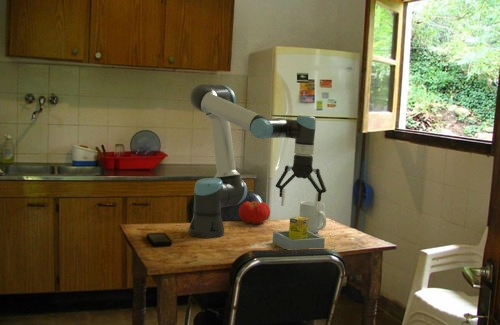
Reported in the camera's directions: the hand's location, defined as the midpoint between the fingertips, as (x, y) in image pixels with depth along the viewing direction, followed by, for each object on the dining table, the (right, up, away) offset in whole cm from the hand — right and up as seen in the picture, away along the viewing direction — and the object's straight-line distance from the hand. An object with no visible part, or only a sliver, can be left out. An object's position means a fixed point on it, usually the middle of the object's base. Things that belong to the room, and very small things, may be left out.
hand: (299, 207), depth 221 cm
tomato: (-18, -11, +41) cm, 46 cm away
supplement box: (0, -15, +1) cm, 15 cm away
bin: (0, -16, +1) cm, 16 cm away
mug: (+8, -14, +27) cm, 31 cm away
